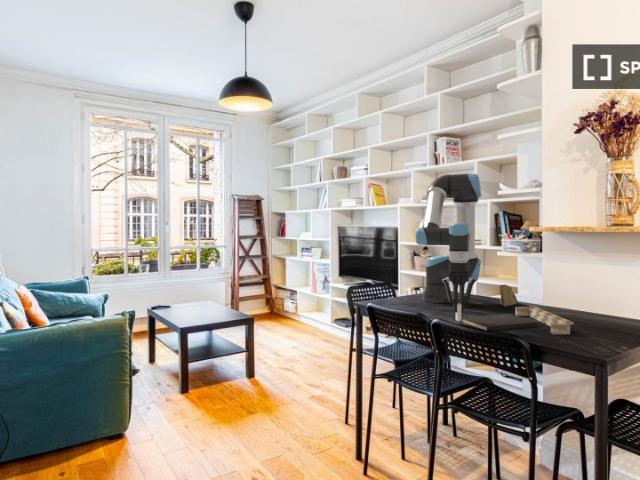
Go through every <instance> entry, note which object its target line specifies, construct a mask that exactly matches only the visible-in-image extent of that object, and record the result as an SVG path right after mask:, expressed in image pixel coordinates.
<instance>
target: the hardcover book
mask: <svg viewBox="0 0 640 480" xmlns="http://www.w3.org/2000/svg"><path fill="white" fill-rule="evenodd" d="M461 321H462V323H464V324H467V325H469V326H473V327H476V328H478V329H481V330H483V329H484V331H486V330H492V331H494V332H495V331H503V330H512V329H514V330H515V329H524V328H525V329H526V328H536V326H537V327H538V323H537V321H535V320H531V319H528V318H525V317H524V318H523V317H522V316H516V315H515V314H510V313H504V314H503V313H502V314H491V315H490V314H488V315H477V316H475V315H474V316H463V317H462V316H461ZM492 331H491V332H492Z"/></svg>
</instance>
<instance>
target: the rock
mask: <svg viewBox="0 0 640 480" xmlns="http://www.w3.org/2000/svg"><path fill="white" fill-rule="evenodd" d="M499 294H500V301H499V302H500V305H501V306H503V307H509V306H513V305H515V304H518V303H519V302H518V299H517V296H516V294H515V293H514V291H513V288H512V287H511V286H509V285H507V284H500V286H499Z"/></svg>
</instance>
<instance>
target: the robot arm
mask: <svg viewBox="0 0 640 480" xmlns="http://www.w3.org/2000/svg"><path fill="white" fill-rule="evenodd" d="M425 197H426V206H425V212H424V217H423V222H422V226H421V227H418V228H416V230H415V242H416V244H417V245H419V246H420V245H421V246H448V248H449V249H448V255H437V256H436V255H435V256H431V257H427V259H426V261H425V262H426V263H425V288H424V291H423V293H422V301H423V302H425V303H431V304H432V303H433V304H449V303H450V304H452V305H453V306H452V310H453V312H454V313H455V320H456V321H457V322H461V321H462V313H464V312H465V309H464V308H465V304H468V303H470V297H471V294H472V291H473V286H474V285H475V283H476V282H478V280H479V276H480V270H481V263H482V259H481V258H479V255H478V254H477V253H476V249H475V248H476V242H475V241H476V233H475V232H476V229H475V228H476V204H477V203H478V202H479V199H481V198H482V187H481V180H480V177H479V174H477V173H468V172H467V173H458V174H457V173H455V174H444V175H441V176H439V177H437V178H436V179H434V180H433V181H432V182H431V183H430V185H429V186H428V188H427V189H426V195H425ZM447 199H452V200H453V201H452V202H453V204H454V205H456V222H454V223H450V224H449V227H441V223H442V222H441V221H442V216H443V210H444V203H445V201H446V200H447ZM450 282H451V284H452V290H451V287H450ZM466 283H467V285H466ZM465 285H466V290H465ZM458 295H459V297H458ZM458 300H459V301H458Z"/></svg>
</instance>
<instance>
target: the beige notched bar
mask: <svg viewBox="0 0 640 480" xmlns="http://www.w3.org/2000/svg"><path fill="white" fill-rule="evenodd" d="M514 310H515V314H514V316H518V317H530V318H532V319H534V320H536V321H539V322H540V323H542V324H544V323H545V325H546V326H549V327H550V334H551V333H552V334H551V335H571V326H573V325H574V322H573V321H571V320H569V319H566V318H564V317H563V316H560V315H557V314H554V313H552V312H550V311H547V310H545V309H542V308H541V307H537V306H536V305H532V304H531V305H530V306H529V307H526V306H521V307H520V306H519V307H517V306H516V307H515V309H514Z"/></svg>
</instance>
